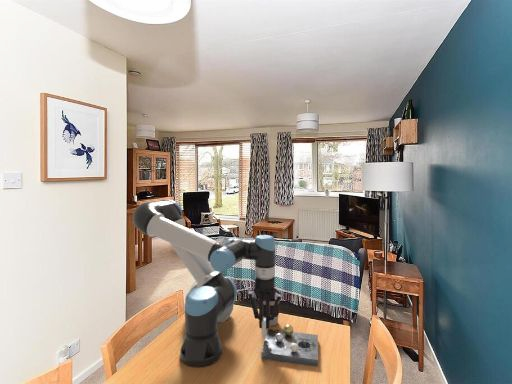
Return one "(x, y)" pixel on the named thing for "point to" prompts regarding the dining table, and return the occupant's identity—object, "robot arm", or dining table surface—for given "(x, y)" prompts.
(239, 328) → the dining table surface
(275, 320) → the coffee cup
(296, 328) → the dining table surface
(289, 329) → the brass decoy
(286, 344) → the plate
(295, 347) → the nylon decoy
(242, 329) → the dining table surface
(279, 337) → the steel ball
